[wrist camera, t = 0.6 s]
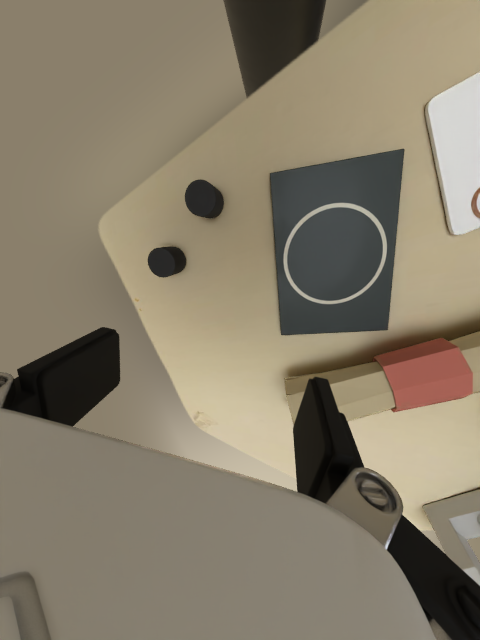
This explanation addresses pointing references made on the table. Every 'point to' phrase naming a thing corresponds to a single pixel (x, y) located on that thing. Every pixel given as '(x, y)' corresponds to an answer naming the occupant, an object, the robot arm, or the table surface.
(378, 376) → the scroll
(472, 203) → the key
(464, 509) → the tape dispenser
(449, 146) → the smartphone
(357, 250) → the face board
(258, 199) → the table surface
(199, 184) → the black cylinder roller
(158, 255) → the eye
